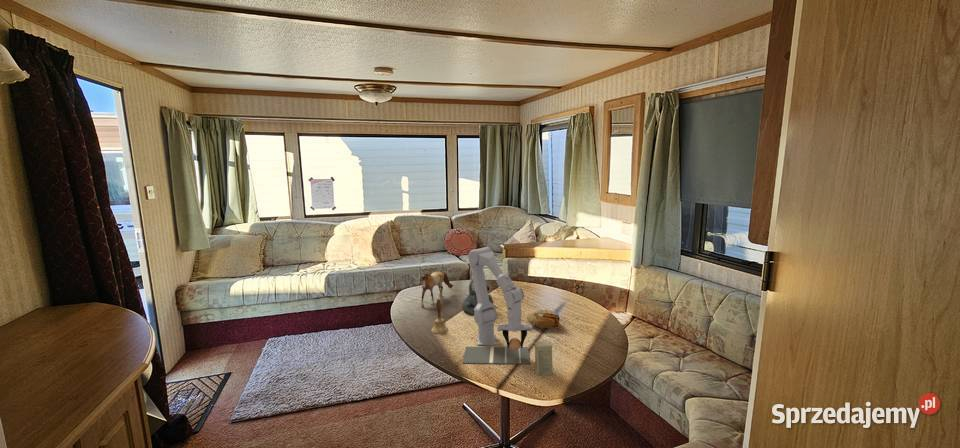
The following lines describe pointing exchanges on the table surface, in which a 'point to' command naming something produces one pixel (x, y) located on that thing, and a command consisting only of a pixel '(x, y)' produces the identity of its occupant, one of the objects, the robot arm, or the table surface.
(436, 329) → the hand bell
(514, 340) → the ball
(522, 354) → the lane mat
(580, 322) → the table surface
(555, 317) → the nautilus
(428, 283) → the horse figurine
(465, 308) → the koala plush
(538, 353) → the skincare box
